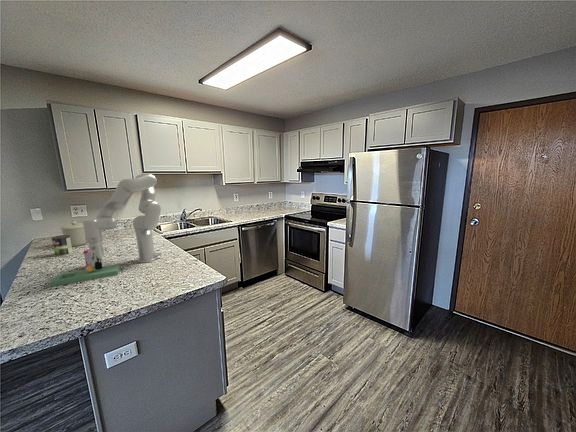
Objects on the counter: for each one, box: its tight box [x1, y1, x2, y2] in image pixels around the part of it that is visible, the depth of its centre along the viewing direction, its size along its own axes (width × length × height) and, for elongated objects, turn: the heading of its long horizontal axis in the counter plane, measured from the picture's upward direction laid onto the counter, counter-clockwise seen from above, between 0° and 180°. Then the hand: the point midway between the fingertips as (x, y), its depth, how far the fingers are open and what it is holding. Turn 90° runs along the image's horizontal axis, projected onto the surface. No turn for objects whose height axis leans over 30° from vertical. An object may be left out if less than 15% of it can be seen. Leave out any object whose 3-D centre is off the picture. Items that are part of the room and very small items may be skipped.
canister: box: [60, 220, 87, 247], centre depth 205 cm, size 18×18×21 cm
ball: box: [85, 266, 95, 272], centre depth 141 cm, size 4×4×4 cm
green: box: [49, 263, 121, 287], centre depth 141 cm, size 30×12×2 cm, turn 119°
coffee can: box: [50, 235, 74, 258], centre depth 180 cm, size 10×10×14 cm
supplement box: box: [83, 249, 95, 268], centre depth 156 cm, size 6×6×12 cm
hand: (99, 268), depth 143 cm, fingers closed
